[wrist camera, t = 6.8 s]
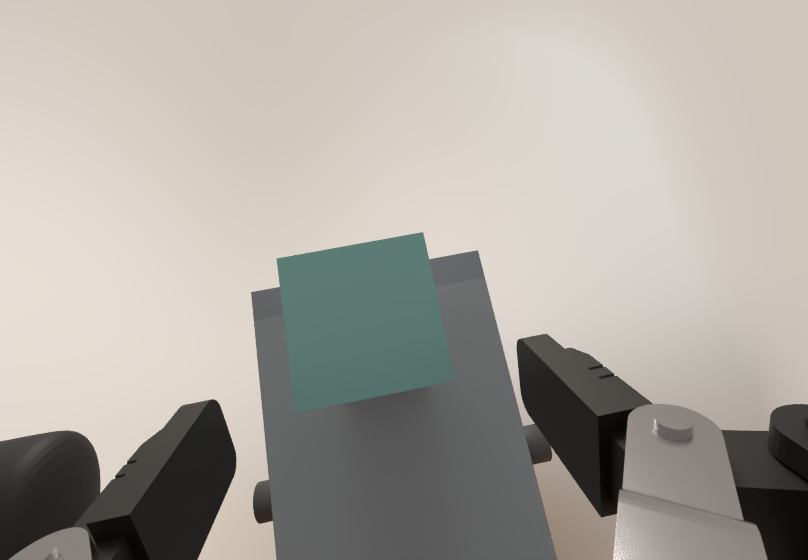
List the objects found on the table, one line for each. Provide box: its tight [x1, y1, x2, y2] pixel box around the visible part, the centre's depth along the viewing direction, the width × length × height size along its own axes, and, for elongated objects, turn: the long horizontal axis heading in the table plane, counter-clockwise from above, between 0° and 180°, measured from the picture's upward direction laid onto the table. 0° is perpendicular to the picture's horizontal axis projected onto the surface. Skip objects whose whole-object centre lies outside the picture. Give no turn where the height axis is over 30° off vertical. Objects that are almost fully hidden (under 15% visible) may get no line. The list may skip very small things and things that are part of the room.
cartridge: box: [277, 233, 456, 413], centre depth 21 cm, size 5×19×5 cm, turn 1°
